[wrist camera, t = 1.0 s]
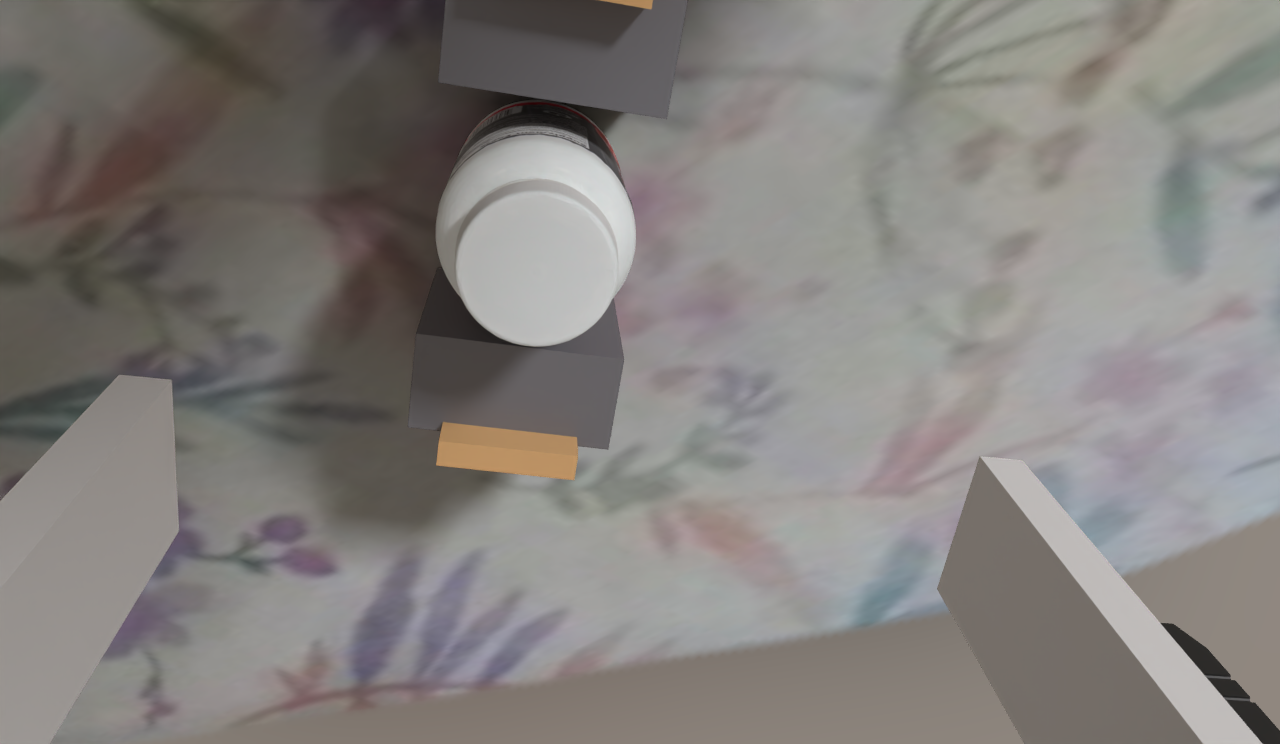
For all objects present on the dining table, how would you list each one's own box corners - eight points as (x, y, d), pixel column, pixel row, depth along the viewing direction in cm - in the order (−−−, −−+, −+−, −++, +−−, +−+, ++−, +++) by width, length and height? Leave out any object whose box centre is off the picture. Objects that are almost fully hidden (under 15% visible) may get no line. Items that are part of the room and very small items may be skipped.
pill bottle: (623, 254, 34) (649, 368, 25) (465, 263, 34) (435, 382, 25) (616, 91, 32) (643, 155, 23) (447, 99, 32) (408, 167, 23)
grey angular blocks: (469, -66, 30) (446, -64, 23) (666, -30, 31) (697, -19, 24) (428, 362, 35) (401, 461, 29) (597, 382, 36) (607, 483, 30)
